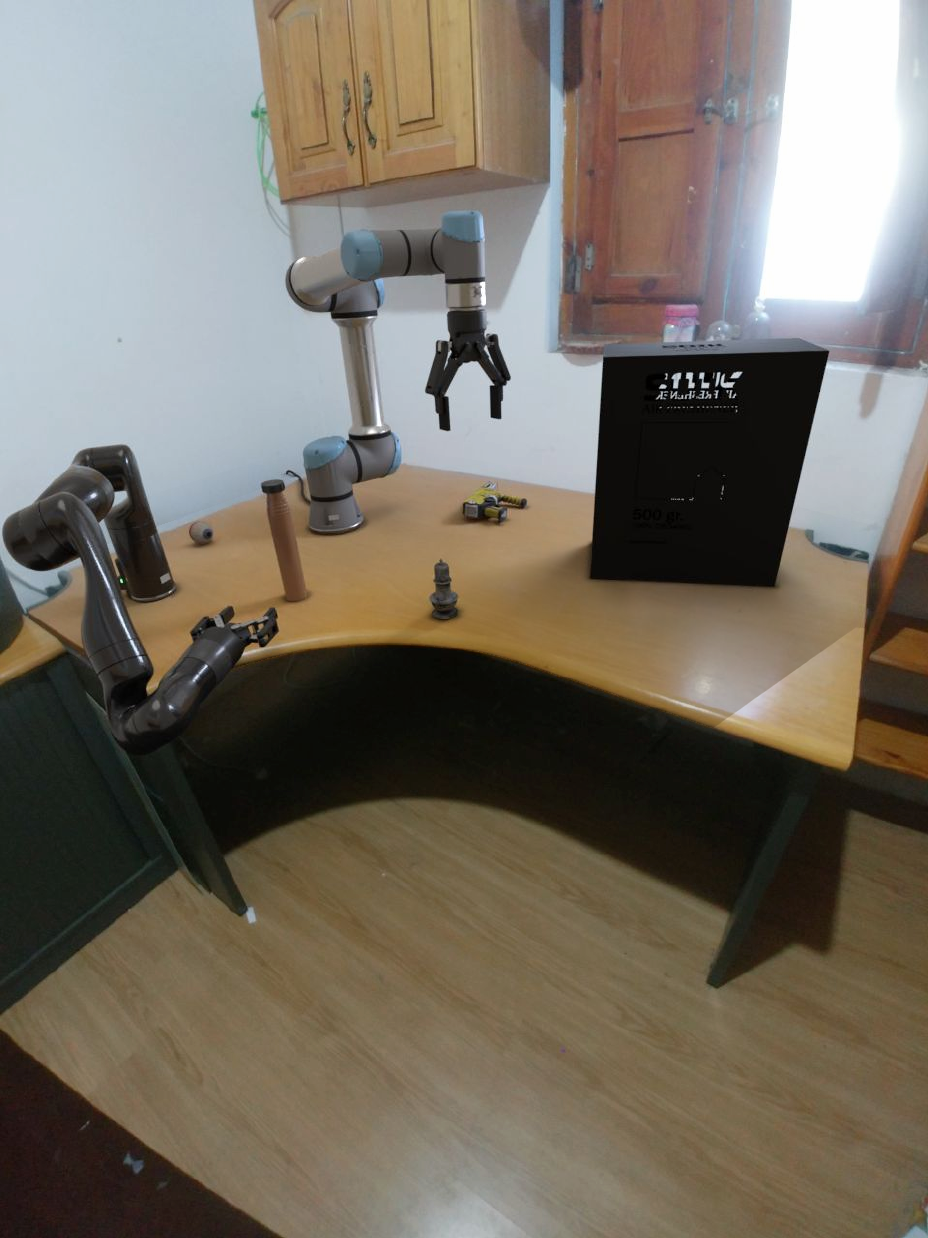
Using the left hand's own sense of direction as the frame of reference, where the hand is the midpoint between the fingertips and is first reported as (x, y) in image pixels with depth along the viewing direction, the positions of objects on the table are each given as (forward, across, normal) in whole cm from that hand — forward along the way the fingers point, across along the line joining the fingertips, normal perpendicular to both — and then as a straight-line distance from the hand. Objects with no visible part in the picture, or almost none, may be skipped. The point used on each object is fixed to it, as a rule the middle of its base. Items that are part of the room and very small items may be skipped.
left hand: (252, 610), depth 114 cm
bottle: (+18, 0, +7) cm, 19 cm away
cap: (+18, 0, -19) cm, 26 cm away
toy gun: (+74, -40, +7) cm, 84 cm away
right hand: (+35, -38, -26) cm, 58 cm away
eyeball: (+47, +38, +7) cm, 60 cm away
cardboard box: (+38, -83, +7) cm, 92 cm away
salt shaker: (+12, -34, +7) cm, 37 cm away
